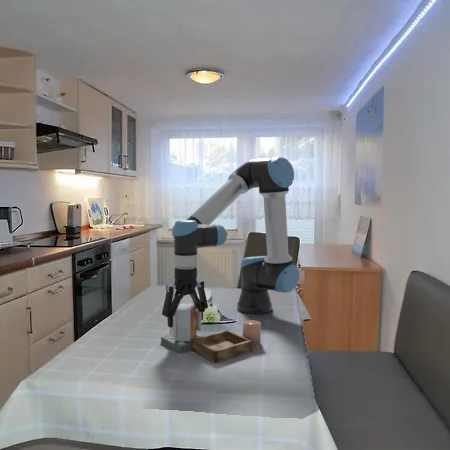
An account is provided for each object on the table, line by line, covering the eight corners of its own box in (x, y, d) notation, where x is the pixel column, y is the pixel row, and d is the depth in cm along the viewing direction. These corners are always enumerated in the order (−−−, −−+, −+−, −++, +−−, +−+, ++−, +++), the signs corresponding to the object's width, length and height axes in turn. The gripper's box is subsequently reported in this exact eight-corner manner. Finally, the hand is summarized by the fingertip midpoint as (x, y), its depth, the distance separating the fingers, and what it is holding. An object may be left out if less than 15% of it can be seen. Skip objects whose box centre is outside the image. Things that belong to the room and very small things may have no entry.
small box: (190, 342, 132) (190, 310, 131) (173, 340, 133) (173, 309, 132) (197, 333, 140) (197, 303, 139) (181, 332, 141) (181, 302, 140)
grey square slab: (190, 334, 145) (190, 327, 145) (210, 344, 136) (210, 337, 136) (161, 342, 138) (161, 334, 138) (180, 353, 128) (180, 345, 128)
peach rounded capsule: (252, 338, 142) (252, 319, 141) (264, 343, 137) (264, 323, 137) (239, 342, 138) (239, 322, 138) (250, 347, 134) (251, 327, 133)
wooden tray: (227, 339, 141) (227, 329, 141) (252, 351, 131) (252, 340, 130) (191, 349, 132) (191, 339, 131) (215, 363, 121) (215, 351, 121)
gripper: (206, 262, 144) (205, 323, 146) (150, 268, 131) (150, 336, 133) (219, 265, 139) (218, 329, 140) (162, 272, 125) (162, 343, 127)
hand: (185, 333), depth 137 cm, fingers closed on small box, 9 cm apart
